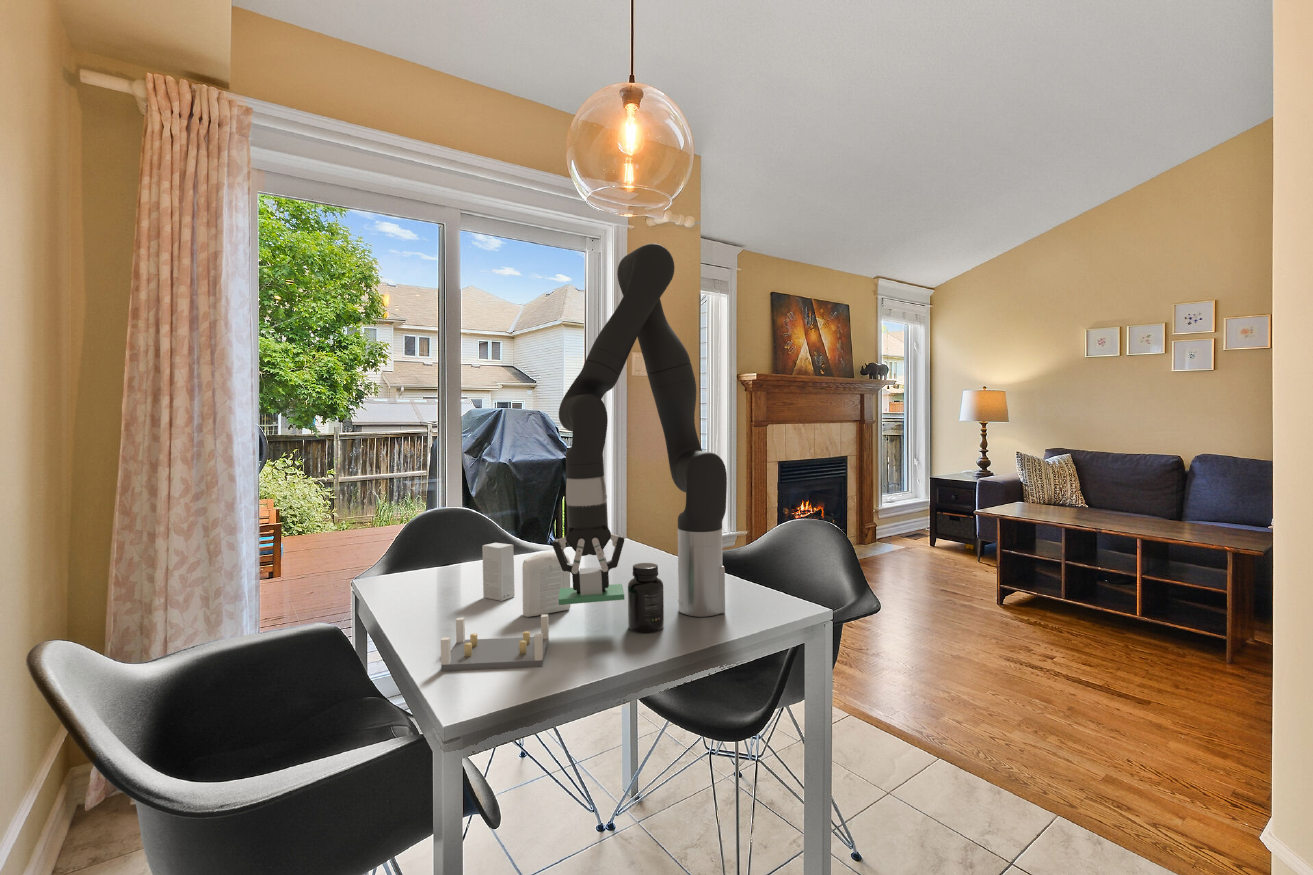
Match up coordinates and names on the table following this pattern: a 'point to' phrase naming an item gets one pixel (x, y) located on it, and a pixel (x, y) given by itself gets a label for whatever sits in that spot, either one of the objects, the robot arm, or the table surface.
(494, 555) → the skincare box
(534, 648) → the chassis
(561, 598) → the module board
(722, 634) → the table surface
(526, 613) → the white rounded block
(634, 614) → the supplement bottle
